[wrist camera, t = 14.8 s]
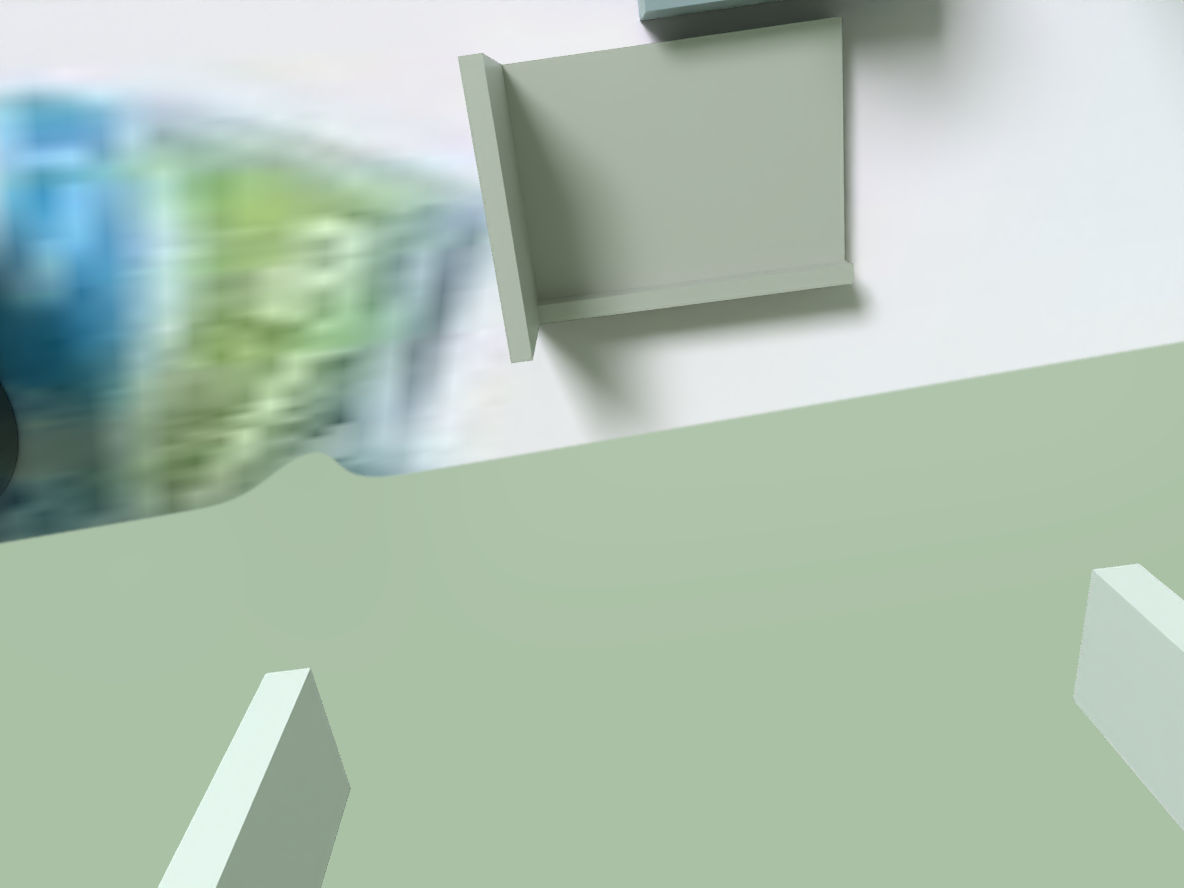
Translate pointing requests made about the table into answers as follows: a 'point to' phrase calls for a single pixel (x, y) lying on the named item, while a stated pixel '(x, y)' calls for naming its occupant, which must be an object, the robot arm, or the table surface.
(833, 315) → the table surface
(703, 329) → the table surface
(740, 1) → the tray
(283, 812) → the robot arm
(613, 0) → the table surface
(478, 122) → the bay
